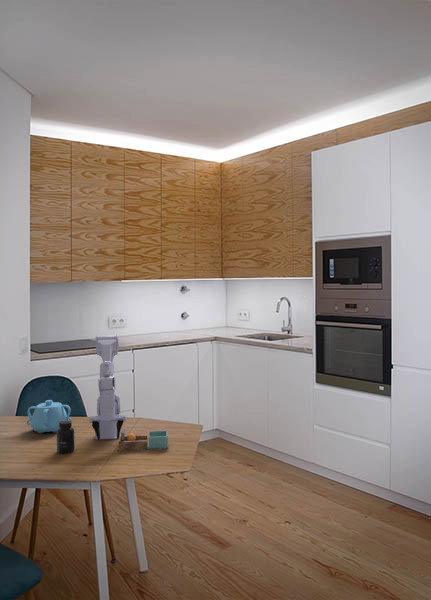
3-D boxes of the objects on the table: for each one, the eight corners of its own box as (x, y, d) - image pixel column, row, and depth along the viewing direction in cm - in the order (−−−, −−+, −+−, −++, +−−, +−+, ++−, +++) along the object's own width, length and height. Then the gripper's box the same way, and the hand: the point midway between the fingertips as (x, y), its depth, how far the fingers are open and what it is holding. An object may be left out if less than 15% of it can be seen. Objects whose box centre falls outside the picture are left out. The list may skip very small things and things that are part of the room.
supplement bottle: (58, 455, 202) (57, 425, 202) (55, 450, 208) (54, 421, 208) (76, 452, 205) (75, 422, 205) (72, 447, 211) (71, 418, 211)
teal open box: (147, 449, 207) (147, 437, 207) (148, 443, 215) (148, 431, 215) (167, 448, 208) (167, 436, 208) (168, 442, 216) (167, 430, 216)
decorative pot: (40, 438, 225) (39, 407, 224) (24, 430, 236) (23, 400, 236) (74, 429, 236) (73, 400, 235) (57, 422, 248) (56, 394, 247)
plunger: (121, 444, 208) (121, 433, 208) (122, 440, 213) (122, 429, 213) (124, 443, 208) (124, 433, 208) (125, 440, 213) (125, 429, 213)
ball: (126, 443, 209) (126, 435, 209) (127, 441, 212) (127, 432, 212) (135, 443, 209) (135, 434, 209) (136, 440, 212) (135, 432, 212)
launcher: (118, 450, 206) (118, 442, 206) (120, 444, 214) (120, 435, 214) (146, 449, 207) (146, 441, 207) (147, 443, 215) (147, 434, 215)
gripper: (87, 409, 205) (88, 443, 205) (124, 407, 206) (125, 441, 206) (90, 404, 212) (91, 437, 212) (126, 403, 213) (127, 436, 213)
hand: (108, 439), depth 210 cm, fingers open, 7 cm apart
